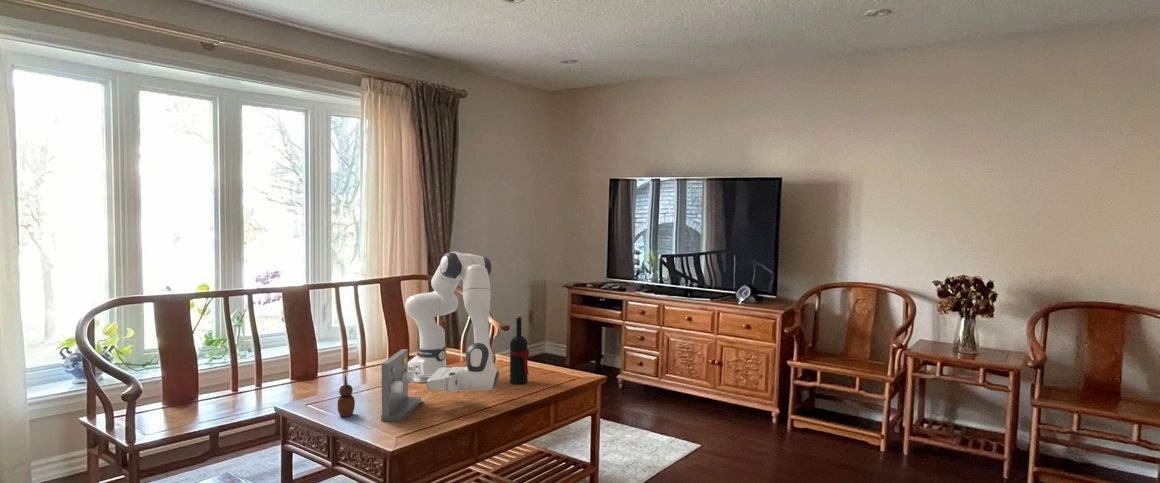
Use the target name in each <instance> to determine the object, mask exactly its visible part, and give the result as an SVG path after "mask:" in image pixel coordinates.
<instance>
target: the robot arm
mask: <svg viewBox="0 0 1160 483" xmlns="http://www.w3.org/2000/svg"><path fill="white" fill-rule="evenodd" d="M492 269H493V268H492V263H491V260H490V258H488V257H486V256H483V255H478V254H473V253H464V252H463V253H462V252H459V251H451V252H445V253H444V254H443V256H442V257H441V259H440V262H439V266H437V269H436V271H435V272H434V275H433V276H432V278H431V281H430V283H431V288H432V290H433V291H430V292H422V293H417V294H412V295H411V296H409V297H407V299H406V301H405V305H404V309H405V313H406V314H407V316H408V317H409V318H411V319H412V320H413V321H414V322H415V324H416V326H417V329H418V335H419V347H417V348H416V349H415V352H416V356H414V357H412V358H411V359H410V360H409V361H408V372H413V373H414V380H413V383H414V382H415V383H419V384H420V383H426V389H427V390H430V391H437V392H446V391H447V393H454V392H457V391H467V390H472V391H489V390H493V389H495V387H497V384H498V382H499V376H500V372H499V369H498V367H497V366H496V354H495V352H494V350H493V349H492V346H491V340H490V324H489V322H490V321H489V320H490V308H491V292H492V291H491V282H490V275H491V273H492ZM461 280H462V298H463V305H464V309H465V311H466V313H467V314H468V316H469V317H470V320H471V322H472V327H473V342H474V343H472V344H470V345H469V346H468V347H467V349H466V351H465V362H466V363H465V364H466V366H452V367H447V360H446V359H447V358H446V356H447V347H446V341H445V339H446V338H445V336H446V334H445V332H446V331H445V329H444V327H443V326H441V325H440V324H438V323H437V322H436V317H441V316H446V315H449V314H452V313H454V312H455V311H456V310H458V307H459V299H458V297H457V295H456V294H455V291H456V289H457V287H458V285H459V283H460V281H461Z"/></svg>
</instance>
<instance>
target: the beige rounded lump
mask: <svg viewBox="0 0 1160 483" xmlns="http://www.w3.org/2000/svg"><path fill="white" fill-rule="evenodd" d="M413 380H414V373H413V372H404V373H403V377H402V381H403V383H408V384H413V383H414V381H413Z"/></svg>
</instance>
